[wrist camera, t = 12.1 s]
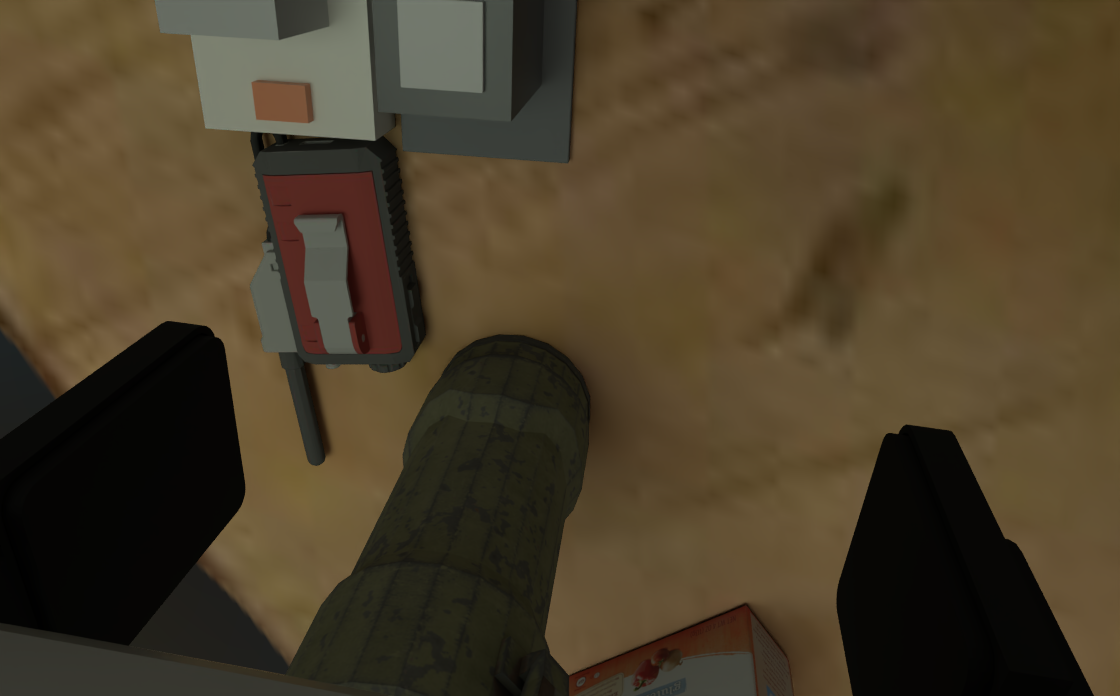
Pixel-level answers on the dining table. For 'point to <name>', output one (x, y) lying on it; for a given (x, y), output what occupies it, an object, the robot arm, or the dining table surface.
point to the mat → (537, 124)
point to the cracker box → (696, 664)
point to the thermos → (465, 537)
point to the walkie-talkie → (334, 263)
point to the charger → (457, 56)
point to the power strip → (283, 65)
